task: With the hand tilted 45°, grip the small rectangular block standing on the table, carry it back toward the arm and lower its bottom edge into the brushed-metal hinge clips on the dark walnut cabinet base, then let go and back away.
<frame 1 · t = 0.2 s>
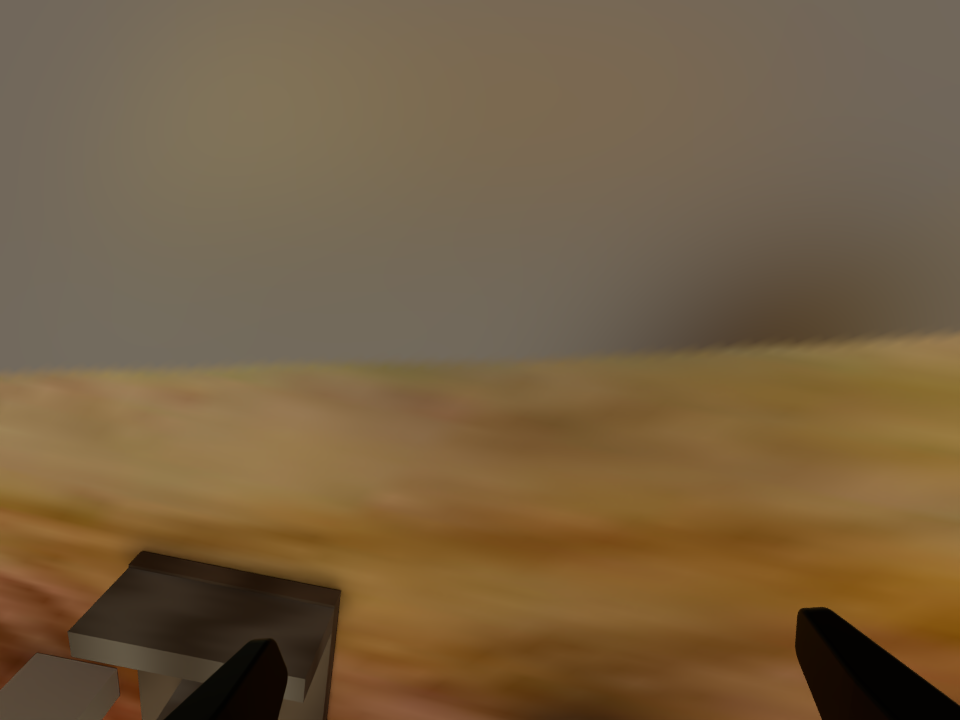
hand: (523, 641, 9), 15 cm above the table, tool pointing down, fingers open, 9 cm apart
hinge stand: (238, 707, 32), on the table
rectangular block: (78, 674, 33), on the table
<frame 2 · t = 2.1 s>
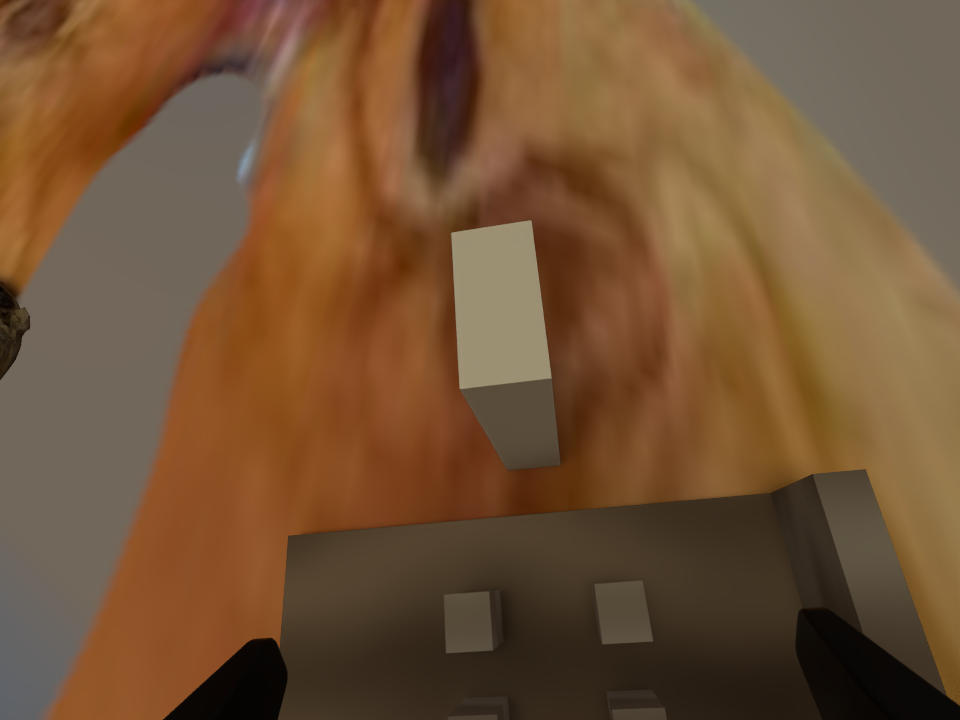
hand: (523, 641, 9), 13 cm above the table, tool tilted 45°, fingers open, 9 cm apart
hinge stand: (554, 662, 21), on the table
rectangular block: (528, 414, 25), on the table
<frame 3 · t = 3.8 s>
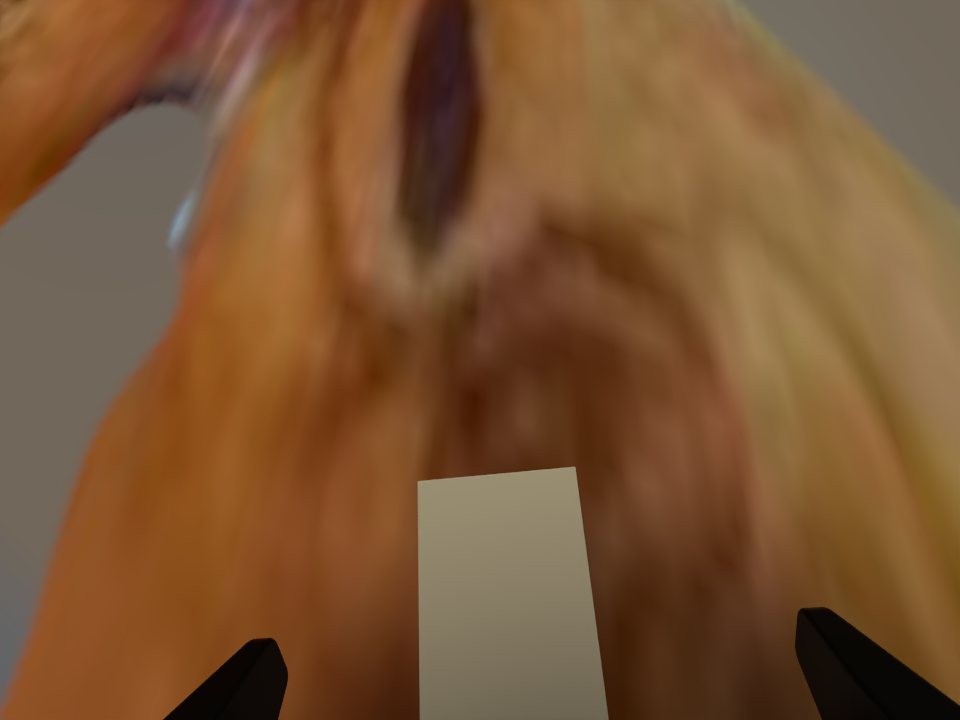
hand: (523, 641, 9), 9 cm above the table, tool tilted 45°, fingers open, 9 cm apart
rectangular block: (547, 620, 17), on the table
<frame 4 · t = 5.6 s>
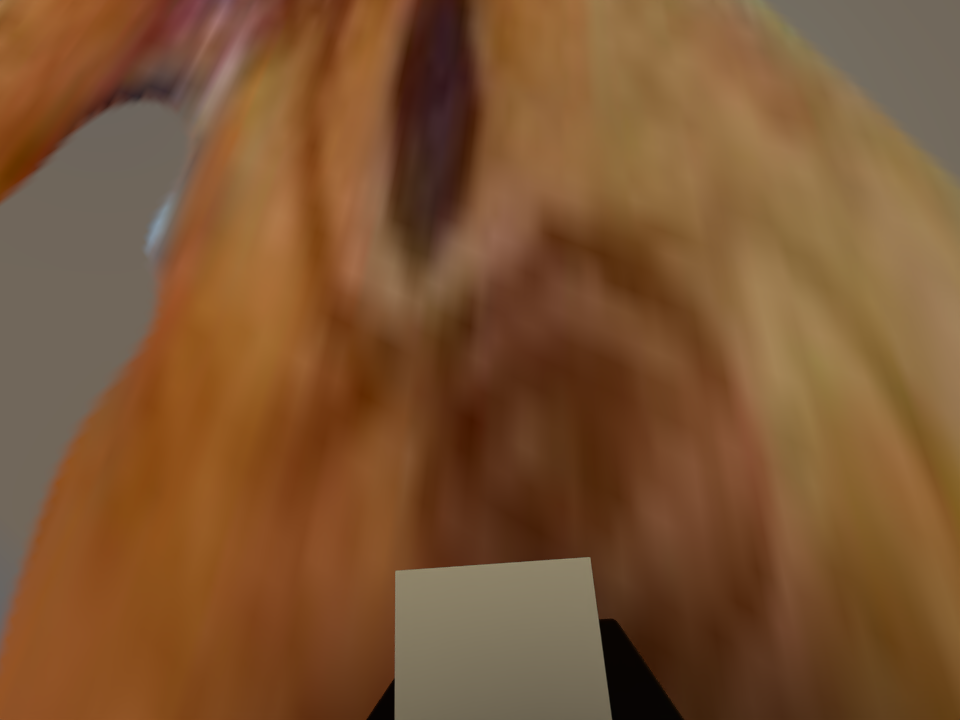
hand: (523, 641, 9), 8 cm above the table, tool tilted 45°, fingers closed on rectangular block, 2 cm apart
rectangular block: (550, 669, 15), on the table, touching gripper
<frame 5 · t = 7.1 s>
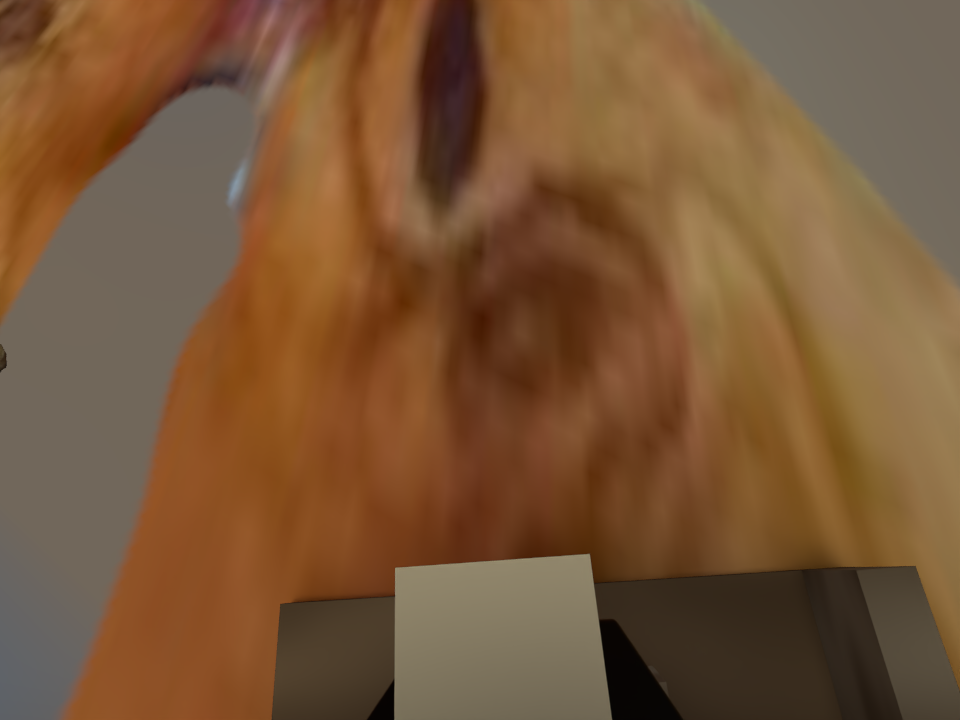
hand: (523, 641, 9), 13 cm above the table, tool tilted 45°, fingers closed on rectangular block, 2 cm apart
rectangular block: (549, 668, 15), point 5 cm above the table, touching gripper
when the fingers open (9 cm above the table, at t = 9.0 s): rectangular block stays where it is, resting on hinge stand.
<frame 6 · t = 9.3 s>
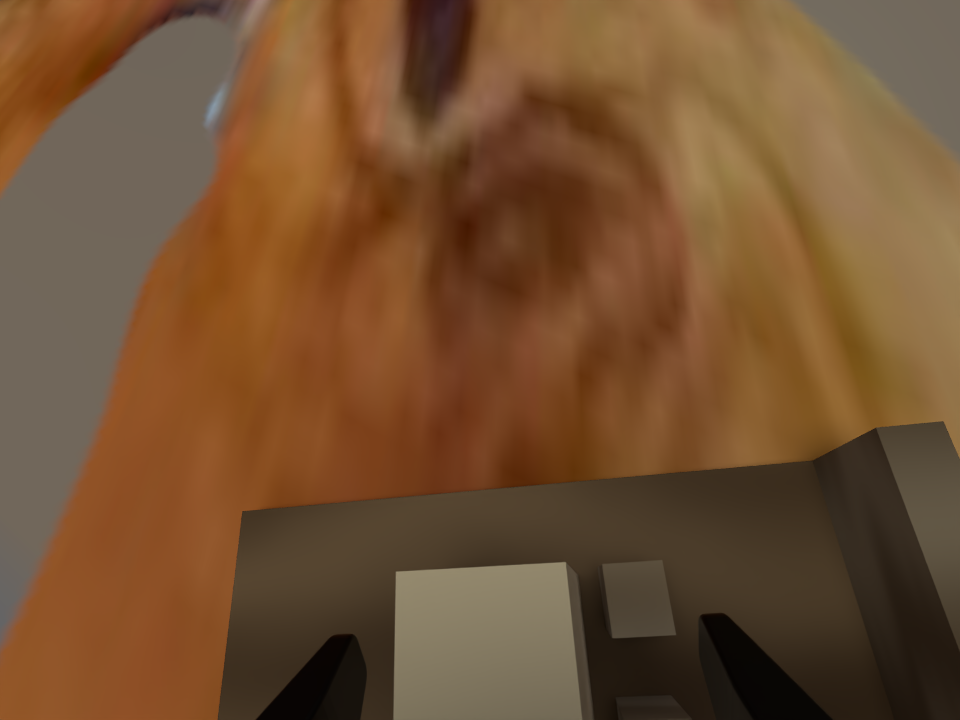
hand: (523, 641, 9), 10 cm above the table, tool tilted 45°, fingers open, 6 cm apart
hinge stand: (552, 661, 17), on the table
rectangular block: (548, 664, 16), point 1 cm above the table, touching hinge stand
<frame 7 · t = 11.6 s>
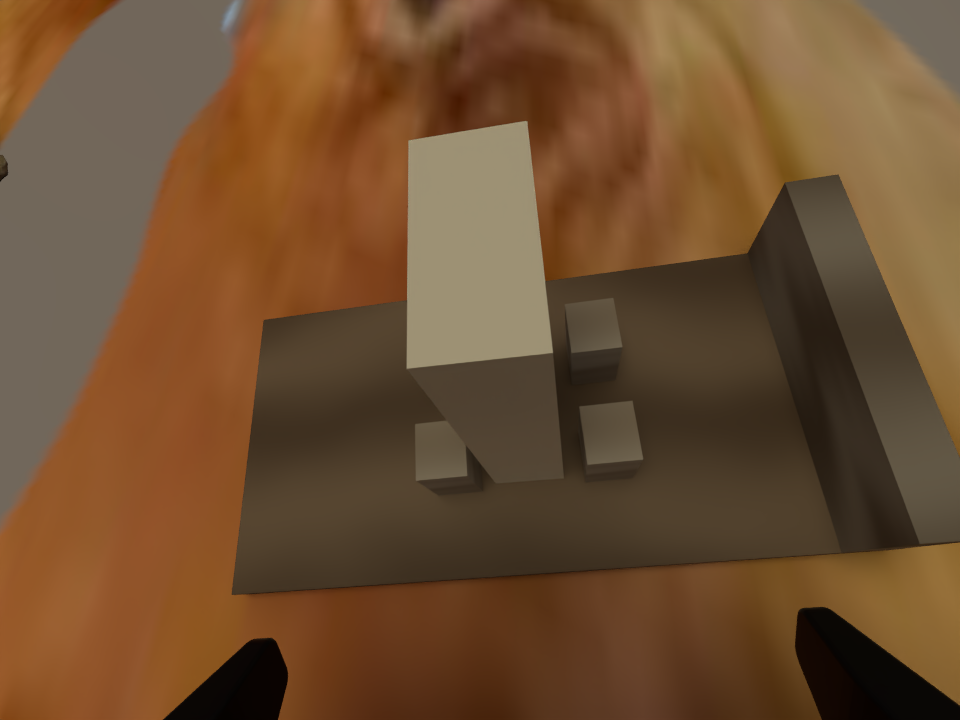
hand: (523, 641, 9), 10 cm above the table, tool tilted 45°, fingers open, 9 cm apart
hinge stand: (528, 420, 20), on the table
rectangular block: (523, 412, 19), point 1 cm above the table, touching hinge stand
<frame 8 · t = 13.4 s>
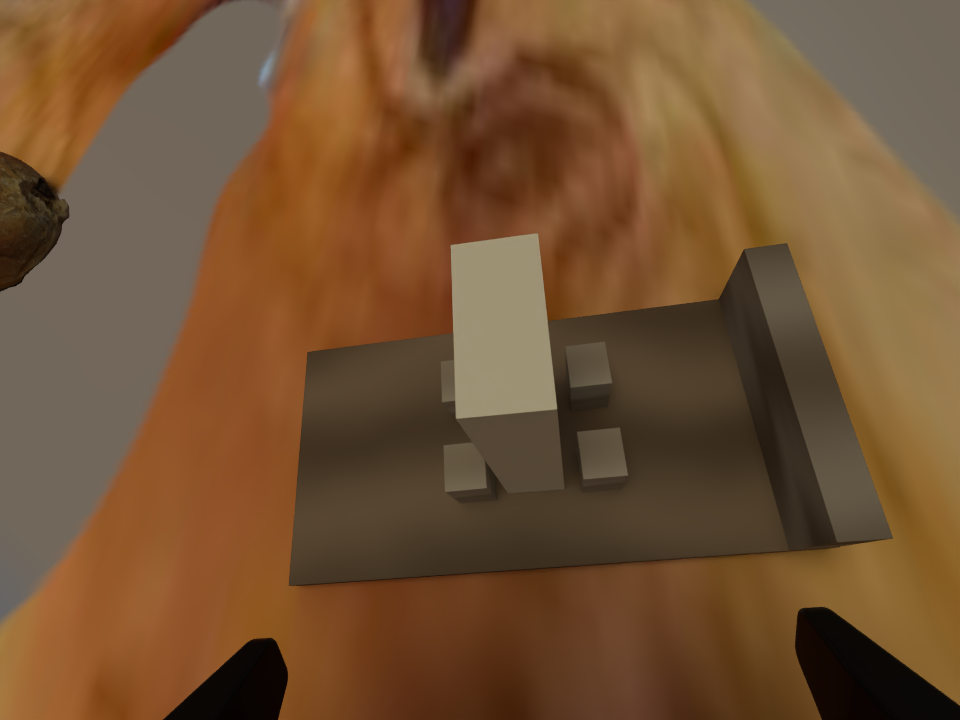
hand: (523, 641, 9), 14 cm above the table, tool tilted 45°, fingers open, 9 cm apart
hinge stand: (534, 440, 24), on the table
rectangular block: (531, 434, 23), point 1 cm above the table, touching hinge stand
brown rough lump: (4, 247, 36), on the table
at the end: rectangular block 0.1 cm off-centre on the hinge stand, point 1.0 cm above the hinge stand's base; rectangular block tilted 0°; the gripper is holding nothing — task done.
